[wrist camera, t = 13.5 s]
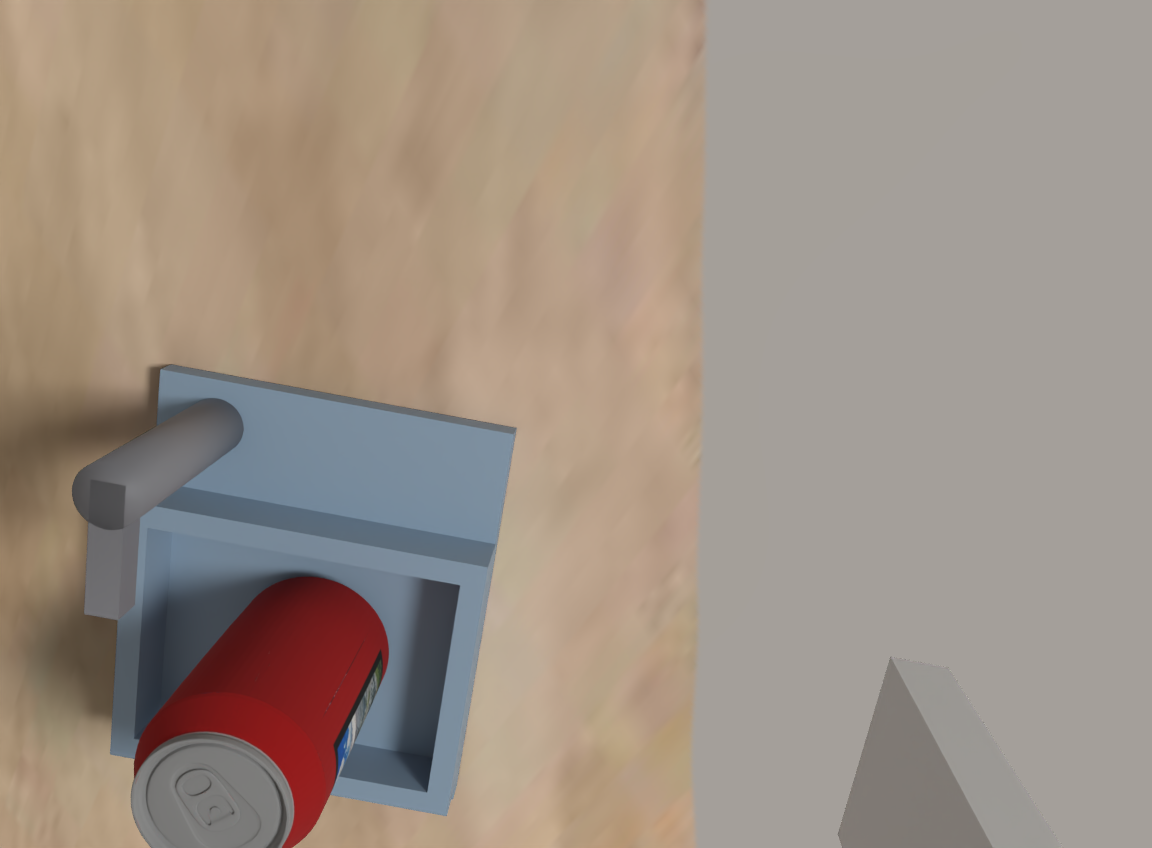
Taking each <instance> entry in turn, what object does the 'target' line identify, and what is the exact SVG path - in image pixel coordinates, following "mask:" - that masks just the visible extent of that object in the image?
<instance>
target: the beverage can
mask: <svg viewBox="0 0 1152 848" xmlns="http://www.w3.org/2000/svg"><path fill="white" fill-rule="evenodd" d="M388 660H389V644H388V638H387V634H386V631H385V628H384V626H383V623H382V621H381V619H380V618H379V616H378V614H377V613H376V611H375V610H374V609H373V608H372V606H371V605H370V604H369V603H368V602H367V601H366V600H365V599H364V598H363V597H362V596H360V595H359V594H358V593H356V592H355V591H354V590H352V589H350V588H349V587H347V586H345V585H343V584H340V583H338V582H335V581H332V580H329V579H325V578H319V577H295V578H290V579H286V580H283V581H280V582H277V583H275V584H273V585H271V586H269V587H268V588H266V589H265V590H263V591H262V592H261V593H259V594H258V595H257V596H256V597H255V598H254V599H253V600H252V602H251V603H250V604H249V605H248V606H247V607H246V608H245V609H244V611H243V612H242V613H241V614H240V615H239V616H238V617H237V619H236V620H235V621H234V622H233V623H232V624H231V625H230V626H229V628H228V629H227V630H226V631H225V632H224V634H223V635H222V636H221V637H220V638H219V639H218V641H217V642H216V643H215V644H214V645H213V646H212V648H211V649H210V650H209V651H208V652H207V653H206V655H205V656H204V657H203V658H202V659H201V661H200V662H199V663H198V664H197V665H196V667H195V668H194V669H193V670H192V671H191V673H190V674H189V675H188V676H187V677H186V678H185V680H184V681H183V682H182V683H181V684H180V686H179V687H178V688H177V689H176V691H175V692H174V693H173V694H172V695H171V697H170V698H169V699H168V700H167V702H166V703H165V704H164V705H163V707H162V708H161V709H160V710H159V711H158V713H157V714H156V715H155V716H154V718H153V719H152V720H151V721H150V723H149V724H148V725H147V727H146V728H145V730H144V731H143V733H142V735H141V737H140V740H139V743H138V745H137V749H136V754H135V760H134V781H133V785H132V790H131V808H132V813H133V817H134V820H135V823H136V825H137V827H138V829H139V831H140V833H141V835H142V836H143V838H144V839H145V841H146V842H147V843H148V844H149V846H150V847H151V848H292V847H294V846H295V845H296V844H298V843H299V842H300V841H301V840H302V839H303V838H305V837H306V836H307V834H308V833H309V832H310V831H311V830H312V828H313V827H314V826H315V824H316V822H317V820H318V819H319V817H320V815H321V813H322V810H323V808H324V806H325V804H326V802H327V800H328V798H329V796H330V794H331V792H332V790H333V788H334V786H335V783H336V781H337V779H338V777H339V775H340V773H341V771H342V769H343V766H344V764H345V762H346V760H347V758H348V756H349V754H350V751H351V749H352V747H353V745H354V743H355V741H356V738H357V736H358V734H359V732H360V730H361V727H362V725H363V723H364V721H365V719H366V716H367V714H368V712H369V710H370V707H371V705H372V703H373V701H374V698H375V696H376V694H377V691H378V689H379V687H380V684H381V682H382V680H383V677H384V675H385V673H386V669H387V666H388Z"/></svg>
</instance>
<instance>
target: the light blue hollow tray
mask: <svg viewBox="0 0 1152 848" xmlns="http://www.w3.org/2000/svg"><path fill="white" fill-rule="evenodd" d="M516 429H517V428H513V427H508V426H503V425H497V424H492V423H486V422H481V421H475V420H470V419H465V418H459V417H454V416H448V415H443V414H437V413H432V412H427V411H421V410H416V409H410V408H405V407H399V406H394V405H389V404H383V403H378V402H372V401H367V400H361V399H356V398H351V397H345V396H340V395H334V394H329V393H323V392H318V391H313V390H307V389H302V388H296V387H291V386H285V385H280V384H275V383H269V382H264V381H258V380H253V379H247V378H242V377H237V376H231V375H226V374H220V373H215V372H209V371H204V370H199V369H193V368H188V367H182V366H177V365H169V366H166V367H164V368H162V369H160V382H159V398H158V413H157V426H156V427H154V428H152V429H150V430H149V431H147V432H145V433H143V434H142V435H140V436H138V437H137V438H135V439H133V440H131V441H130V442H128V443H126V444H124V445H123V446H121V447H119V448H117V449H116V450H114V451H112V452H110V453H109V454H107V455H105V456H103V457H102V458H100V459H98V460H96V461H95V462H93V463H91V464H89V465H88V466H86V467H84V468H83V469H82V470H81V471H80V472H79V473H78V474H77V476H76V477H75V479H74V482H73V486H72V496H73V501H74V504H75V506H76V508H77V510H78V512H79V513H80V514H81V516H82V517H83V518H84V519H85V520H87V521H88V541H87V563H86V584H85V606H84V614H86V615H92V616H97V617H103V618H108V619H114V620H118V625H117V643H116V660H115V678H114V696H113V713H112V731H111V748H110V754H111V755H116V756H122V757H127V758H133V759H135V754H136V749H137V745H138V743H139V740H140V737H141V735H142V733H143V731H144V730H145V728H146V727H147V725H148V724H149V723H150V721H151V720H152V719H153V718H154V716H155V715H156V714H157V713H158V711H159V710H160V709H161V708H162V707H163V705H164V704H165V703H166V702H167V700H168V699H169V698H170V697H171V695H172V694H173V693H174V692H175V691H176V689H177V688H178V687H179V686H180V684H181V683H182V682H183V681H184V680H185V678H186V677H187V676H188V675H189V674H190V673H191V671H192V670H193V669H194V668H195V667H196V665H197V664H198V663H199V662H200V661H201V659H202V658H203V657H204V656H205V655H206V653H207V652H208V651H209V650H210V649H211V648H212V646H213V645H214V644H215V643H216V642H217V641H218V639H219V638H220V637H221V636H222V635H223V634H224V632H225V631H226V630H227V629H228V628H229V626H230V625H231V624H232V623H233V622H234V621H235V620H236V619H237V617H238V616H239V615H240V614H241V613H242V612H243V611H244V609H245V608H246V607H247V606H248V605H249V604H250V603H251V602H252V600H253V599H254V598H255V597H256V596H257V595H258V594H259V593H261V592H262V591H263V590H265V589H266V588H268V587H269V586H271V585H273V584H275V583H277V582H280V581H283V580H286V579H290V578H295V577H319V578H325V579H329V580H332V581H335V582H338V583H340V584H343V585H345V586H347V587H349V588H350V589H352V590H354V591H355V592H356V593H358V594H359V595H360V596H362V597H363V598H364V599H365V600H366V601H367V602H368V603H369V604H370V605H371V606H372V608H373V609H374V610H375V611H376V613H377V614H378V616H379V618H380V619H381V621H382V623H383V626H384V628H385V631H386V634H387V638H388V644H389V660H388V666H387V669H386V673H385V675H384V677H383V680H382V682H381V684H380V687H379V689H378V691H377V694H376V696H375V698H374V701H373V703H372V705H371V707H370V710H369V712H368V714H367V716H366V719H365V721H364V723H363V725H362V727H361V730H360V732H359V734H358V736H357V738H356V741H355V743H354V745H353V747H352V749H351V751H350V754H349V756H348V758H347V760H346V762H345V764H344V766H343V769H342V771H341V773H340V775H339V777H338V779H337V781H336V783H335V786H334V788H333V790H332V792H331V794H330V795H334V796H340V797H345V798H351V799H356V800H362V801H367V802H372V803H378V804H383V805H389V806H394V807H400V808H405V809H411V810H416V811H422V812H427V813H432V814H438V815H443V816H447V813H448V809H449V805H450V802H451V799H453V797H454V794H455V790H456V786H457V780H458V774H459V768H460V762H461V756H462V750H463V744H464V738H465V732H466V726H467V720H468V714H469V708H470V703H471V697H472V691H473V685H474V679H475V673H476V667H477V661H478V655H479V649H480V643H481V637H482V631H483V625H484V619H485V613H486V607H487V601H488V595H489V589H490V583H491V578H492V572H493V566H494V560H495V554H496V548H497V542H498V536H499V530H500V524H501V518H502V512H503V506H504V500H505V494H506V488H507V482H508V476H509V470H510V464H511V458H512V453H513V447H514V441H515V435H516Z"/></svg>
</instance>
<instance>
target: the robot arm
mask: <svg viewBox="0 0 1152 848" xmlns="http://www.w3.org/2000/svg"><path fill="white" fill-rule="evenodd" d="M838 836H839V839H840V842H841V845H842V848H1063V846H1062V845H1061V843H1060V842H1059V840H1058V839H1057V837H1056V835H1055V834H1054V832H1053V831H1052V829H1051V828H1050V826H1049V824H1048V823H1047V821H1046V820H1045V818H1044V817H1043V815H1042V813H1041V812H1040V810H1039V809H1038V807H1037V806H1036V804H1035V803H1034V801H1033V799H1032V798H1031V796H1030V795H1029V793H1028V792H1027V790H1026V788H1025V787H1024V785H1023V784H1022V782H1021V780H1020V779H1019V777H1018V776H1017V774H1016V773H1015V771H1014V770H1013V768H1012V766H1011V765H1010V763H1009V762H1008V760H1007V759H1006V757H1005V756H1004V754H1003V752H1002V751H1001V749H1000V748H999V746H998V745H997V743H996V741H995V740H994V738H993V737H992V735H991V734H990V732H989V731H988V729H987V727H986V726H985V724H984V722H983V721H982V719H981V718H980V716H979V715H978V713H977V711H976V710H975V708H974V707H973V705H972V704H971V702H970V701H969V699H968V697H967V696H966V694H965V693H964V691H963V690H962V688H961V686H960V685H959V683H958V682H957V680H956V679H955V677H954V675H953V674H952V672H951V671H950V669H949V668H948V667H944V666H938V665H933V664H927V663H922V662H916V661H911V660H906V659H900V658H895V657H890V660H889V664H888V667H887V670H886V674H885V677H884V680H883V684H882V687H881V690H880V694H879V697H878V701H877V704H876V707H875V711H874V714H873V718H872V721H871V724H870V727H869V731H868V735H867V738H866V741H865V744H864V748H863V751H862V754H861V758H860V761H859V765H858V768H857V771H856V775H855V778H854V781H853V785H852V788H851V791H850V795H849V798H848V802H847V805H846V808H845V812H844V815H843V819H842V822H841V825H840V829H839V832H838Z"/></svg>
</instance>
